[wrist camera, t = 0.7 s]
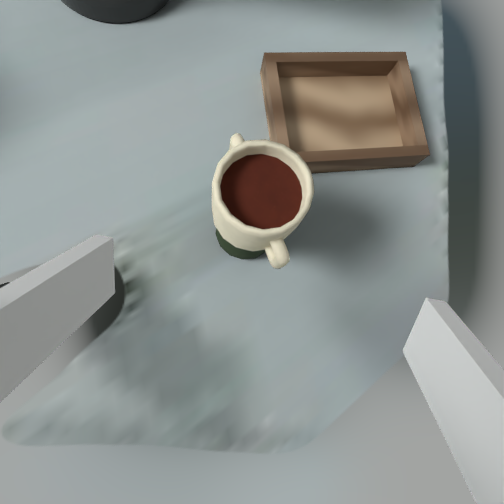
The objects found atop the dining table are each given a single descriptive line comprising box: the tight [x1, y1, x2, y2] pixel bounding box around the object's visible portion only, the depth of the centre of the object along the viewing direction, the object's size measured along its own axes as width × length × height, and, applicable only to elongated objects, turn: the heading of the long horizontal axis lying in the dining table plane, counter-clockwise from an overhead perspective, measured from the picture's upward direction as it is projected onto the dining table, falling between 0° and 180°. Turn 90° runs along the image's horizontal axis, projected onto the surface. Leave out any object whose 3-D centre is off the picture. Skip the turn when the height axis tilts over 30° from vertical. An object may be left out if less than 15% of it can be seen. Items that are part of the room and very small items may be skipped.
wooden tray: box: [260, 52, 430, 173], centre depth 36 cm, size 13×17×3 cm
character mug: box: [212, 133, 314, 269], centre depth 27 cm, size 11×7×13 cm, turn 21°
